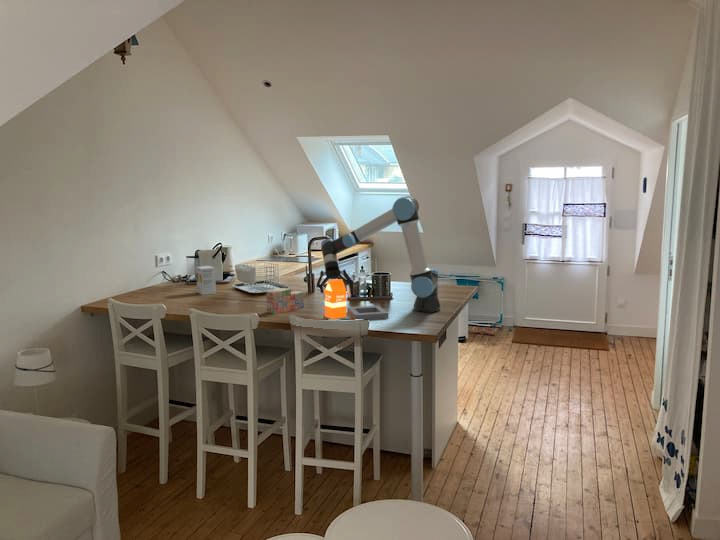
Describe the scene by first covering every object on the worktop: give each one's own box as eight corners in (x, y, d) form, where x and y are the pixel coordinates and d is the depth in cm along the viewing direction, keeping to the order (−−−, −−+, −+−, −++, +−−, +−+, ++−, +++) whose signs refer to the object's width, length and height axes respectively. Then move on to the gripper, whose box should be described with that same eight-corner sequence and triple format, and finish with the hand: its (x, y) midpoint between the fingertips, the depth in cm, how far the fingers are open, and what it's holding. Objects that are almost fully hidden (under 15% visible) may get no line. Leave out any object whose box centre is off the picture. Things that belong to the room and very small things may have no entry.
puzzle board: (378, 310, 332) (378, 305, 332) (388, 318, 315) (388, 313, 314) (347, 312, 328) (347, 307, 327) (355, 320, 311) (355, 315, 310)
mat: (345, 314, 324) (345, 313, 324) (350, 319, 313) (350, 318, 313) (323, 315, 321) (323, 314, 321) (327, 321, 310) (327, 320, 310)
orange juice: (324, 316, 318) (324, 279, 314) (338, 314, 323) (338, 277, 319) (332, 319, 311) (332, 281, 308) (346, 317, 316) (346, 280, 313)
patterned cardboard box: (297, 306, 344) (296, 285, 342) (304, 308, 340) (303, 286, 338) (266, 312, 329) (266, 290, 327) (273, 314, 325) (273, 292, 323)
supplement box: (196, 292, 382) (195, 266, 379) (210, 291, 388) (209, 265, 385) (202, 295, 374) (201, 268, 372) (216, 293, 380) (215, 267, 377)
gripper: (352, 267, 331) (359, 299, 319) (308, 269, 325) (313, 302, 313) (354, 259, 325) (361, 291, 313) (309, 261, 319) (314, 294, 307)
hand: (337, 296), depth 313 cm, fingers open, 13 cm apart
